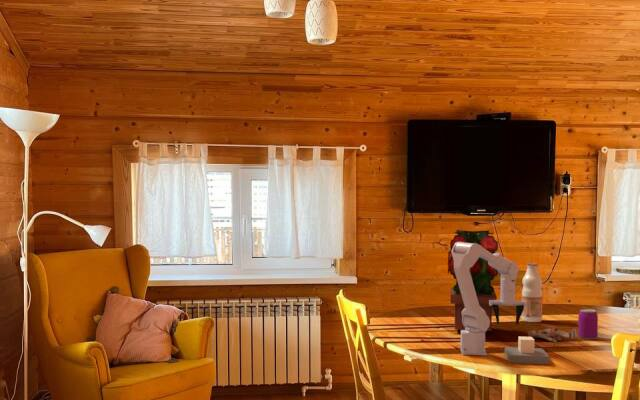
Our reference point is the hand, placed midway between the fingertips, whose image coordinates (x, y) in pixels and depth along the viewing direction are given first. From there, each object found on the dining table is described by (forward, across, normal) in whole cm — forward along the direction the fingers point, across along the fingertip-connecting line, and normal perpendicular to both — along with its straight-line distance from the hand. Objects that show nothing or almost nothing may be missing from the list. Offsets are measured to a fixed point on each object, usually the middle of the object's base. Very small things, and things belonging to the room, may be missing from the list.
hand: (507, 323), depth 261 cm
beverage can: (+10, -37, -20) cm, 43 cm away
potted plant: (+10, +11, -27) cm, 31 cm away
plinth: (+9, -4, +19) cm, 22 cm away
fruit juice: (+10, -20, -53) cm, 57 cm away
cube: (+6, -4, +19) cm, 20 cm away
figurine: (+10, -20, -13) cm, 26 cm away
